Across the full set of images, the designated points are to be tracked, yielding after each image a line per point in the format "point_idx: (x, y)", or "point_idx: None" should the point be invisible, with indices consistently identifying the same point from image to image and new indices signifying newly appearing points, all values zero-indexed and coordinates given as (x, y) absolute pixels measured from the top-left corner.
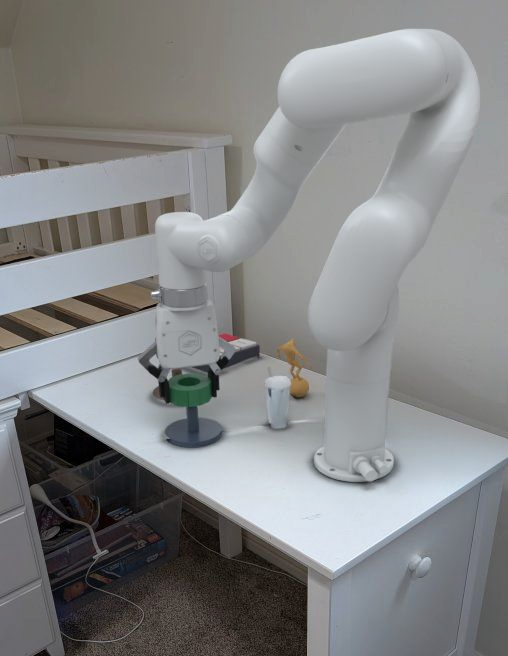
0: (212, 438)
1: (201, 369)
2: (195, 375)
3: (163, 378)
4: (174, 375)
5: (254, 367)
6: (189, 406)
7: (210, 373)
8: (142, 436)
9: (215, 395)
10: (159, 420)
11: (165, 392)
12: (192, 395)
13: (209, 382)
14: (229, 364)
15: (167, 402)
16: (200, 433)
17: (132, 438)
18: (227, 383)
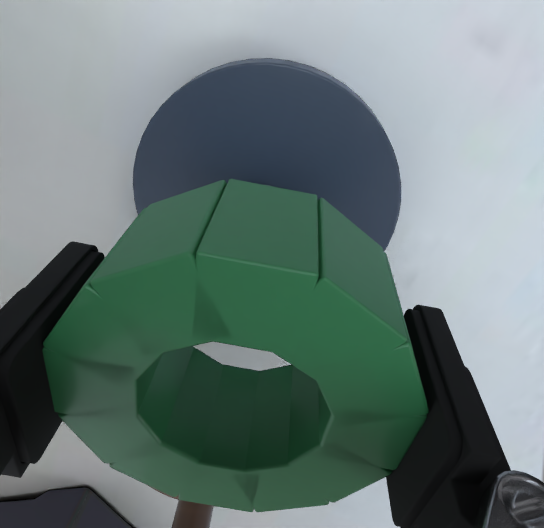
0: (212, 71)
1: (103, 520)
2: (148, 465)
3: (515, 506)
4: (203, 523)
5: None
6: (314, 196)
7: (13, 425)
8: (455, 283)
9: (76, 246)
10: None
11: (463, 373)
12: (278, 236)
13: (62, 332)
14: (18, 511)
15: (432, 310)
16: (250, 155)
17: (497, 286)
18: (47, 446)
